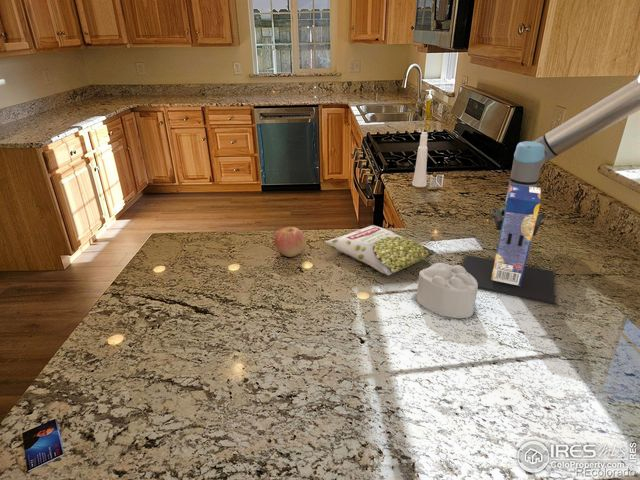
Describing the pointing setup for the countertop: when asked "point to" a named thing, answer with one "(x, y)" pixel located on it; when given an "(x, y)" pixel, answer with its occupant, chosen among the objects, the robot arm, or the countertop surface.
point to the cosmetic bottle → (421, 163)
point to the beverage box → (516, 233)
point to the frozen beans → (381, 249)
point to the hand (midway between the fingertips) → (515, 239)
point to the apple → (289, 241)
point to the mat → (532, 286)
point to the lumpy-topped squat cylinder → (447, 290)
